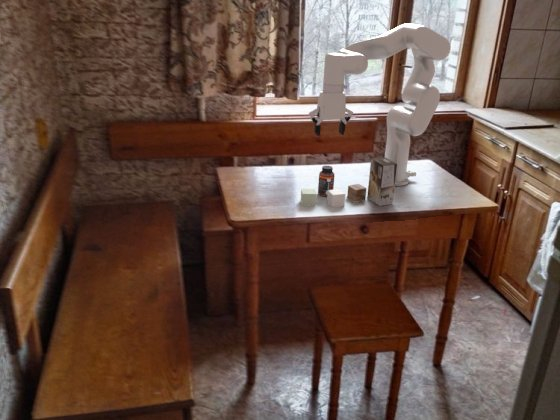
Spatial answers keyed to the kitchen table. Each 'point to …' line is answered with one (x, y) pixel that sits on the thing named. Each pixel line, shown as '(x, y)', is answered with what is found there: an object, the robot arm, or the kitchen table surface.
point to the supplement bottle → (325, 180)
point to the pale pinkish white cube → (336, 198)
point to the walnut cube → (356, 192)
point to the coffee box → (382, 181)
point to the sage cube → (308, 197)
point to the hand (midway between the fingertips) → (329, 134)
